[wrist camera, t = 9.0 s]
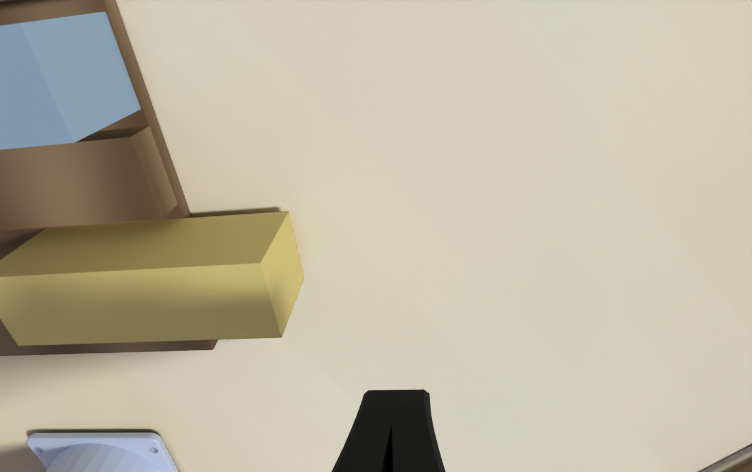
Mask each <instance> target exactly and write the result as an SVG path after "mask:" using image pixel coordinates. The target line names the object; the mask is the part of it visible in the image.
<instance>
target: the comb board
mask: <svg viewBox="0 0 752 472" xmlns="http://www.w3.org/2000/svg"><path fill="white" fill-rule="evenodd" d="M98 12H106V14H107V17H108V20H109V23H110V25H111V28H112V31H113V34H114V36H115V39H116V42H117V45H118V47H119V50H120V53H121V56H122V58H123V61H124V64H125V67H126V69H127V72H128V75H129V78H130V80H131V83H132V86H133V89H134V91H135V94H136V97H137V99H138V102H139V105H140V108H141V109H140V110H138V111H136V112H134V113H132V114H130V115H128V116H126V117H124V118H122V119H120V120H118V121H116V122H114V123H112V124H110V125H108V126H106V127H104V128H102V129H100V130H98V131H96V132H94V133H93V134H91V135H89V136H87V137H85V138H83V139H81V140H79V141H77V142H75V143H66V144H56V145H45V146H34V147H24V148H13V149H3V150H0V260H1V259H3V258H4V257H5V256H7V255H8V254H10V253H11V252H13V251H14V250H16V249H17V248H18V247H20V246H21V245H23V244H24V243H26V242H27V241H29V240H30V239H31V238H33V237H34V236H36V235H37V234H39V233H40V232H41V231H43V230H44V229H46V228H51V227H65V226H80V225H94V224H109V223H124V222H138V221H153V220H168V219H182V218H192V217H191V214H190V211H189V208H188V205H187V202H186V200H185V197H184V194H183V191H182V188H181V185H180V183H179V180H178V177H177V174H176V171H175V168H174V165H173V163H172V160H171V157H170V154H169V151H168V148H167V146H166V143H165V140H164V137H163V134H162V131H161V128H160V126H159V123H158V120H157V117H156V114H155V111H154V109H153V106H152V103H151V100H150V97H149V94H148V91H147V89H146V86H145V83H144V80H143V77H142V74H141V72H140V69H139V66H138V63H137V60H136V57H135V54H134V52H133V49H132V46H131V43H130V40H129V37H128V35H127V32H126V29H125V26H124V23H123V20H122V17H121V15H120V12H119V9H118V6H117V3H116V0H0V26H1V25H8V24H16V23H23V22H31V21H38V20H45V19H53V18H60V17H68V16H75V15H83V14H90V13H98ZM217 341H218V340H187V341H155V342H123V343H91V344H59V345H28V346H18V345H17V343H16V342H15V340H14V339H13V337H12V336H11V334H10V333H9V331H8V330H7V328H6V327H5V325H4V324H3V322H2V321H1V319H0V356H12V355H47V354H82V353H118V352H153V351H188V350H213V349H214V347H215V345H216V343H217Z"/></svg>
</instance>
